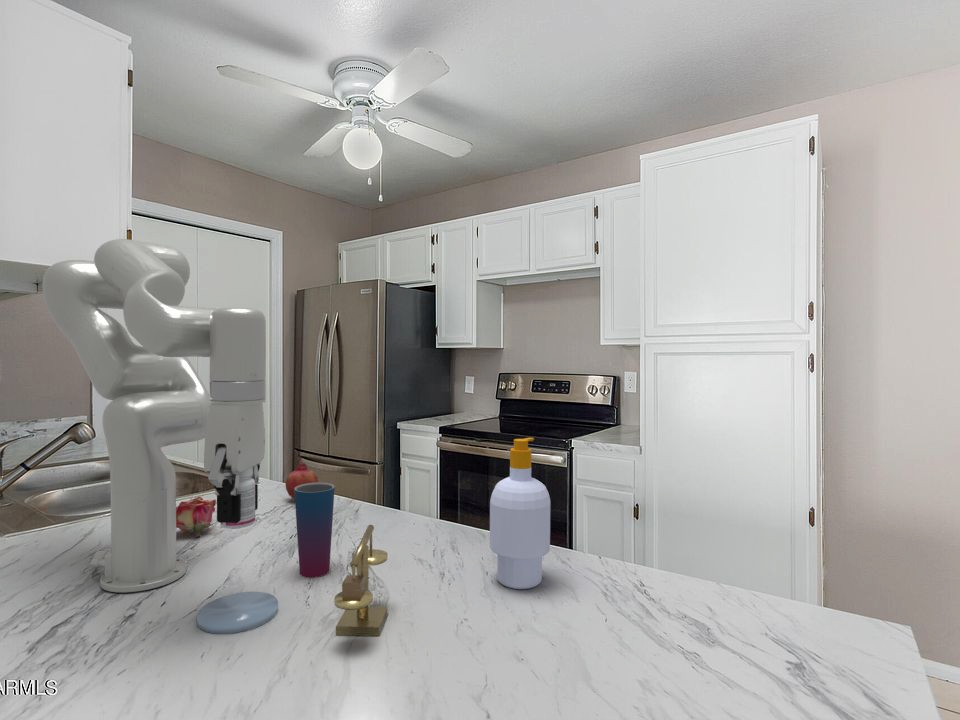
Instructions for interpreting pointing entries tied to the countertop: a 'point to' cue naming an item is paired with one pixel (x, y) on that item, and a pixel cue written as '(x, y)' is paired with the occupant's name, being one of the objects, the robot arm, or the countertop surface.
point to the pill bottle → (244, 499)
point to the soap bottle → (520, 522)
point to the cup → (314, 527)
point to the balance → (361, 593)
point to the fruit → (300, 478)
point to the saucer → (237, 612)
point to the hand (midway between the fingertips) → (237, 514)
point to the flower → (195, 515)
